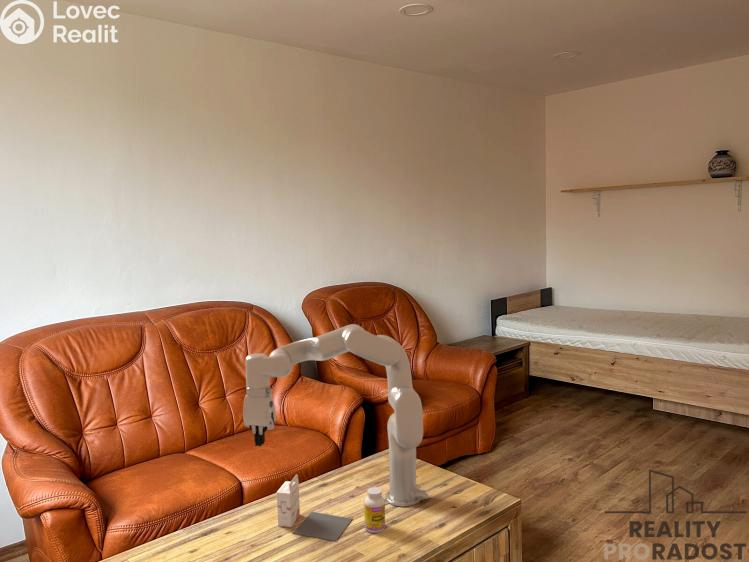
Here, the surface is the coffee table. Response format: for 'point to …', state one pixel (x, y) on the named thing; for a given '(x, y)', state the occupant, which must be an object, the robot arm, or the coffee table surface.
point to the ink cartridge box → (288, 503)
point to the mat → (323, 526)
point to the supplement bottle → (374, 510)
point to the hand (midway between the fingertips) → (259, 444)
